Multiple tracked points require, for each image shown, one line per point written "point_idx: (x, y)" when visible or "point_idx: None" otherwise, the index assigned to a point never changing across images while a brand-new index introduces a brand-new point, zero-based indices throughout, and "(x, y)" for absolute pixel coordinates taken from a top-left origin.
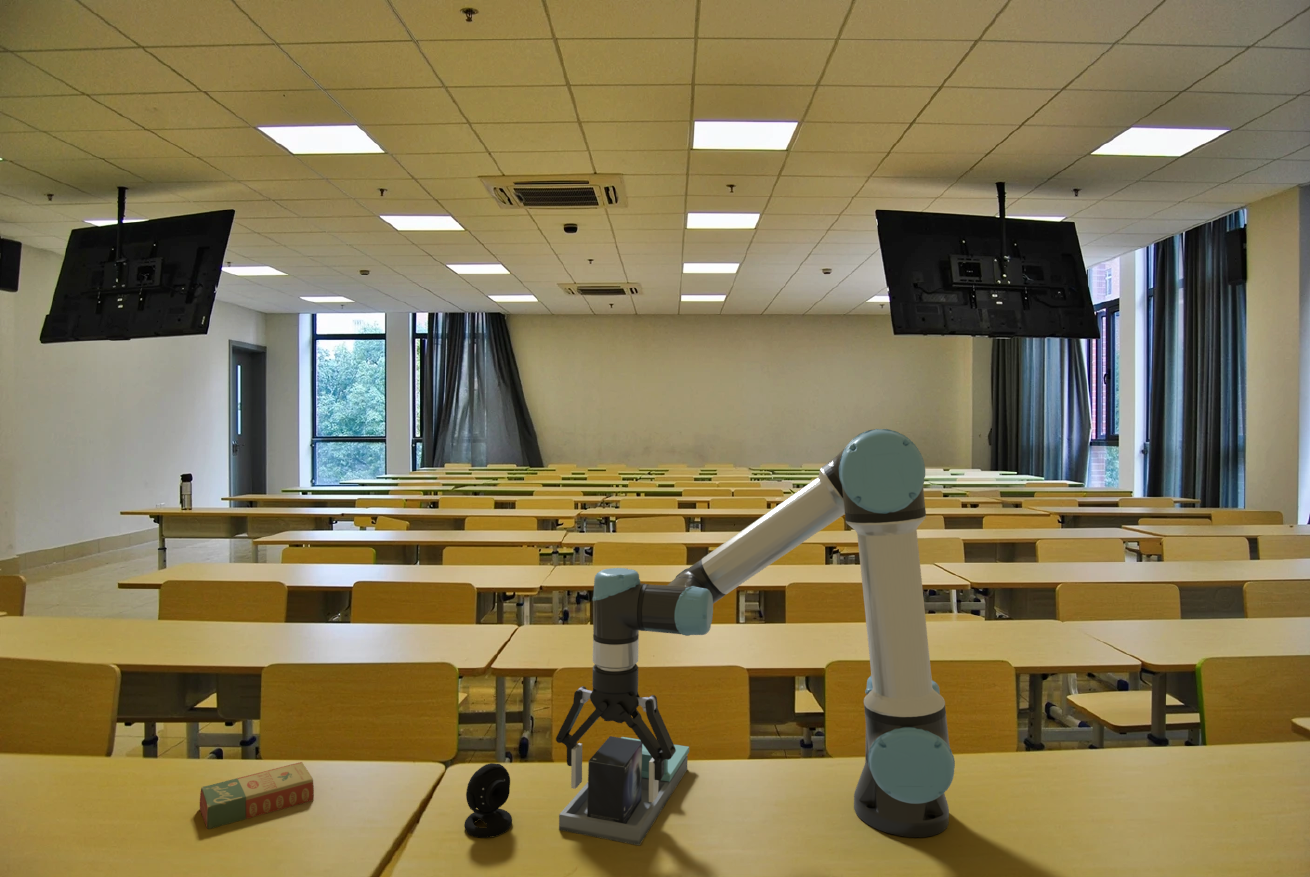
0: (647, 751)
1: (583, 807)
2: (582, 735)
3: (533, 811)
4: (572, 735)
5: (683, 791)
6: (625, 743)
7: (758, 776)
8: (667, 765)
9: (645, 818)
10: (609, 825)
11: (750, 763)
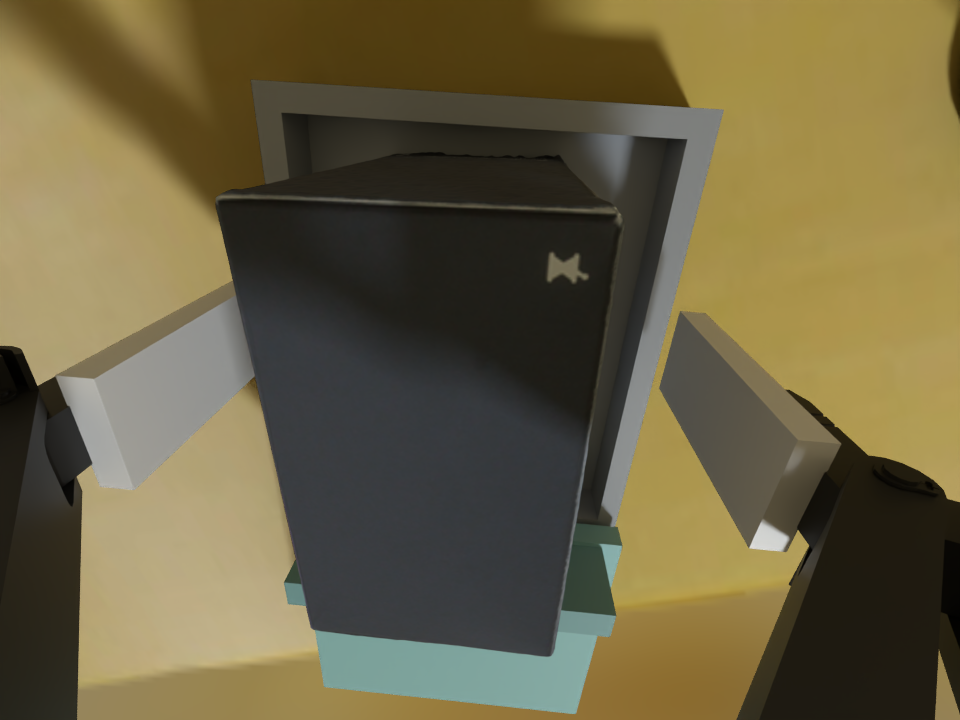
0: (451, 648)
1: (617, 307)
2: (799, 585)
3: (845, 245)
4: (942, 557)
5: None
6: (398, 587)
7: (141, 603)
8: None
9: None
10: (421, 90)
11: (195, 653)
